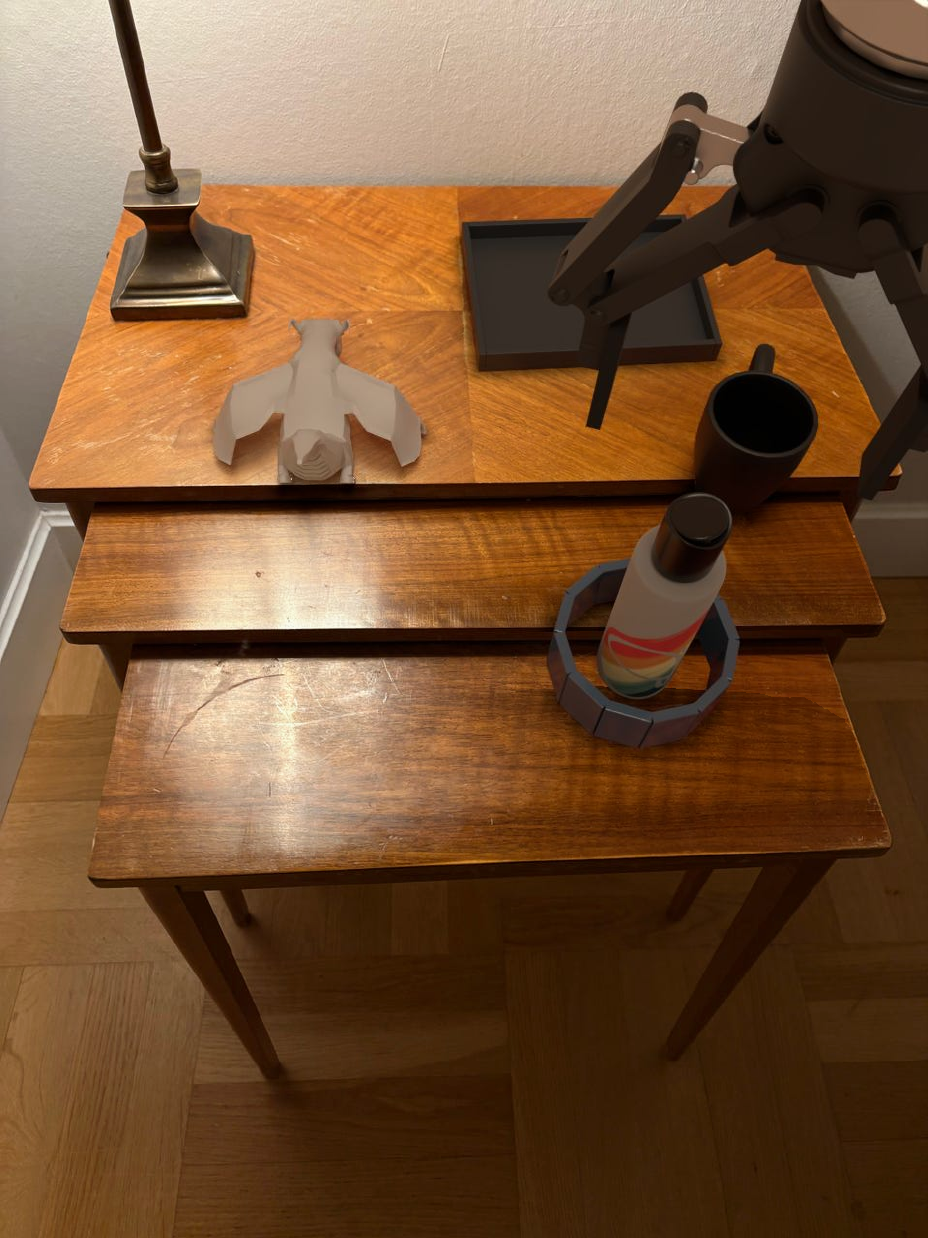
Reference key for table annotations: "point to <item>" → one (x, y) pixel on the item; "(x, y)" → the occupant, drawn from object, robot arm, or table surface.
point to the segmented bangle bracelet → (620, 718)
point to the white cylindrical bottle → (665, 596)
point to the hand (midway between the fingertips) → (730, 442)
